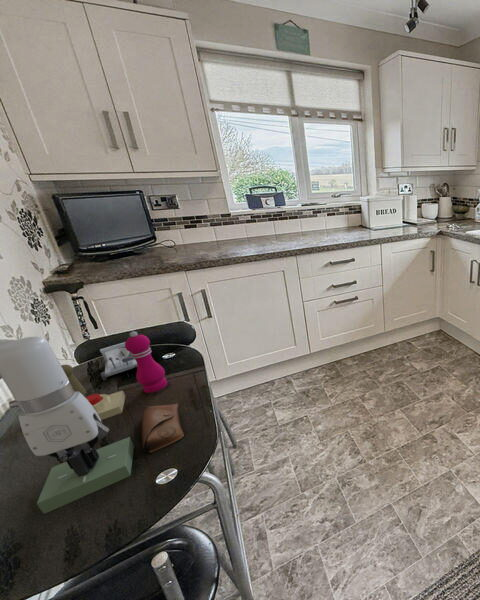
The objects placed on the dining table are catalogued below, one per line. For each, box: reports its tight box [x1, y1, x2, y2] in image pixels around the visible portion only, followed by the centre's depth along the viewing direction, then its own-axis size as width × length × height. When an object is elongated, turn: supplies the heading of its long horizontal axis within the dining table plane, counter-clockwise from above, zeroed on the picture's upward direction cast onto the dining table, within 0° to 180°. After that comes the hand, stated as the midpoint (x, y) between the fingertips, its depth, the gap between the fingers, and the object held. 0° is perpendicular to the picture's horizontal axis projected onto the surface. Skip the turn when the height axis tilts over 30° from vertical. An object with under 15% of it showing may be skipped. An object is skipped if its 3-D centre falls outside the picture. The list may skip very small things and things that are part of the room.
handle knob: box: [68, 445, 91, 477], centre depth 71 cm, size 6×2×5 cm, turn 27°
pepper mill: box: [125, 330, 168, 394], centre depth 102 cm, size 7×7×20 cm
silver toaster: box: [99, 341, 138, 381], centre depth 117 cm, size 18×10×12 cm
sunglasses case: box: [141, 403, 185, 454], centre depth 86 cm, size 18×7×7 cm
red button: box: [84, 393, 102, 405], centre depth 93 cm, size 4×4×2 cm
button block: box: [92, 390, 126, 421], centre depth 94 cm, size 12×10×4 cm
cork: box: [60, 364, 88, 397], centre depth 102 cm, size 6×6×11 cm
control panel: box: [36, 436, 135, 515], centre depth 72 cm, size 14×11×3 cm
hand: (87, 465), depth 72 cm, fingers closed on handle knob
